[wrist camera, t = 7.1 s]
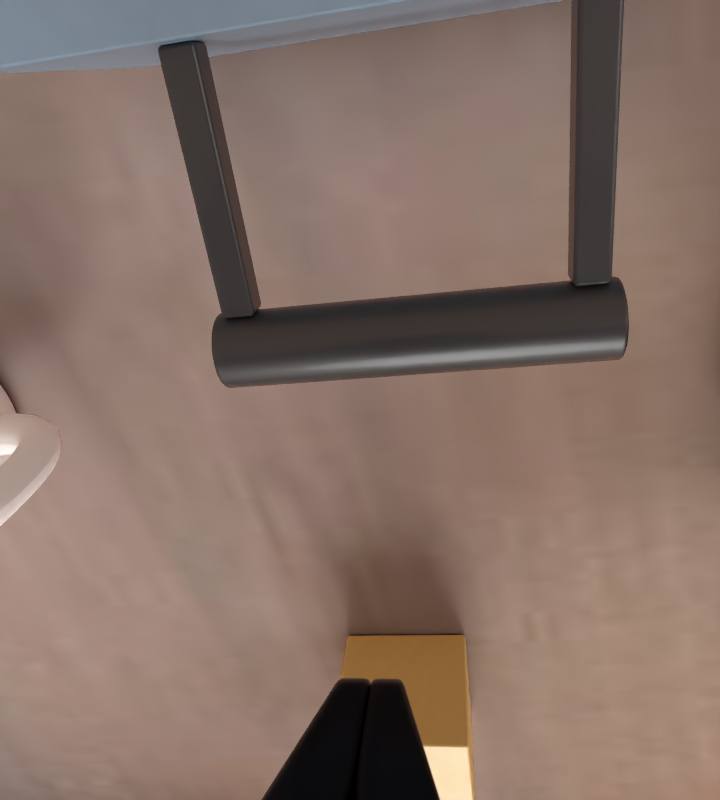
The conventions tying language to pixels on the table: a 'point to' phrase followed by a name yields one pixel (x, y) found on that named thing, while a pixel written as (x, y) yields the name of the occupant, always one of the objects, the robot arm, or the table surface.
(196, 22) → the drawer
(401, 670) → the block
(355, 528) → the table surface
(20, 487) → the cup
